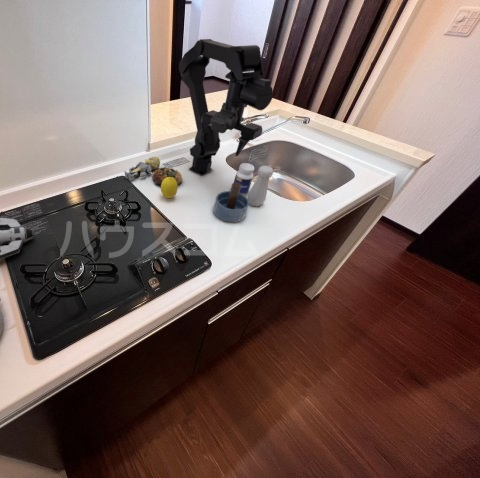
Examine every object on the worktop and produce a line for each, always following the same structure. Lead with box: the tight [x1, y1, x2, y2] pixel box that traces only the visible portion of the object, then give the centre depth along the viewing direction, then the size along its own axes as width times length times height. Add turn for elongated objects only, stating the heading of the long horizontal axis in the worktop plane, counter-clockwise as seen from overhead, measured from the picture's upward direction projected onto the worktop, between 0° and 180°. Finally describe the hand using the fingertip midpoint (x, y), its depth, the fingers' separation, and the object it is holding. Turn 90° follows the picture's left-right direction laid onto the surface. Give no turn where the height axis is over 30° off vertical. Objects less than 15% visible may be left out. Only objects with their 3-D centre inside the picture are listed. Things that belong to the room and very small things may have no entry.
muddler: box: [226, 181, 241, 210], centre depth 79 cm, size 4×4×10 cm
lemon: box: [160, 177, 179, 199], centre depth 85 cm, size 6×6×8 cm
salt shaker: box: [247, 165, 274, 207], centre depth 82 cm, size 6×6×13 cm
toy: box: [124, 156, 161, 182], centre depth 97 cm, size 8×5×15 cm
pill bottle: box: [233, 162, 255, 197], centre depth 88 cm, size 6×6×10 cm
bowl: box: [213, 190, 250, 223], centre depth 81 cm, size 10×10×5 cm
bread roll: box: [152, 166, 183, 187], centre depth 94 cm, size 11×11×5 cm
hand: (225, 150), depth 85 cm, fingers open, 9 cm apart
